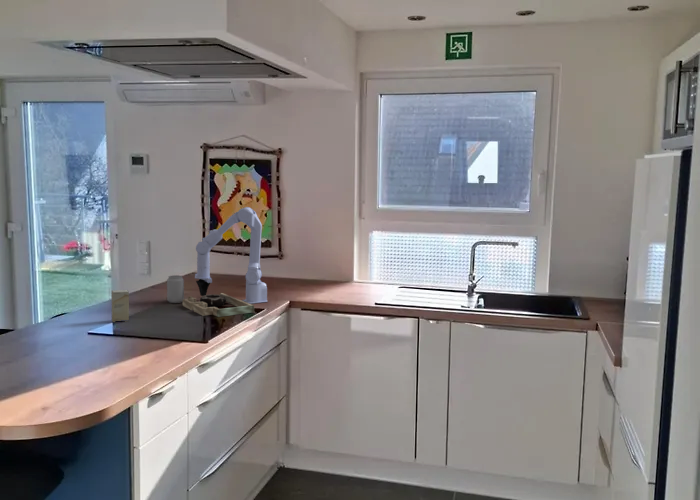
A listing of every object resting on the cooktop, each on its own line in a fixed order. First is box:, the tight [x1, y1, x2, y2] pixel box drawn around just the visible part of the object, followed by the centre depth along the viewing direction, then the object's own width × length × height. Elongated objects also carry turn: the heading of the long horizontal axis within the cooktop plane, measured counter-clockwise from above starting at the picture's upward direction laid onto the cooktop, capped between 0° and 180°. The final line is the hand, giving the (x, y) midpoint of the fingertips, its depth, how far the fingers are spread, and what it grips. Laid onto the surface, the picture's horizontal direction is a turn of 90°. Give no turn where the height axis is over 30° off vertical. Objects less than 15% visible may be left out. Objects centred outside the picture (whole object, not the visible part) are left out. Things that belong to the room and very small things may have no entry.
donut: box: [199, 293, 227, 308], centre depth 286 cm, size 12×12×4 cm
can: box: [166, 274, 185, 304], centre depth 288 cm, size 8×8×12 cm
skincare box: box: [111, 289, 130, 323], centre depth 251 cm, size 6×4×12 cm
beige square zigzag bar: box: [182, 292, 255, 318], centre depth 279 cm, size 22×31×3 cm
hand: (203, 295), depth 294 cm, fingers closed
